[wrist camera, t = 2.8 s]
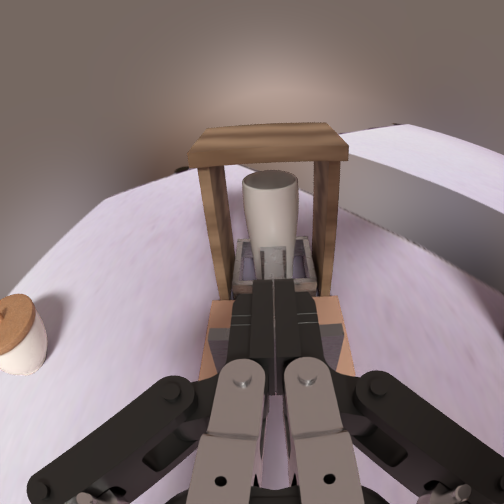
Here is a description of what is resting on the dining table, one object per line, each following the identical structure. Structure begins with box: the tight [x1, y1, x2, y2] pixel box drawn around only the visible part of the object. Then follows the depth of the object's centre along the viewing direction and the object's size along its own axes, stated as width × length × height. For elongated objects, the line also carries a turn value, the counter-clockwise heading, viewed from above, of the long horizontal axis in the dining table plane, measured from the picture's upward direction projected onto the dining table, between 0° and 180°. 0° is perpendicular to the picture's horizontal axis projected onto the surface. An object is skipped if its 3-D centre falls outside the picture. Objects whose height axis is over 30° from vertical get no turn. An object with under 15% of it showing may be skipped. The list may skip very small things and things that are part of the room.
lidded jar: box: [0, 294, 47, 376], centre depth 30 cm, size 11×11×9 cm
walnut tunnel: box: [187, 123, 349, 300], centre depth 38 cm, size 12×16×21 cm
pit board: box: [199, 296, 355, 381], centre depth 34 cm, size 12×16×2 cm
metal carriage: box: [208, 236, 344, 392], centre depth 35 cm, size 26×11×11 cm, turn 178°
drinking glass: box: [242, 170, 299, 280], centre depth 40 cm, size 7×7×15 cm
